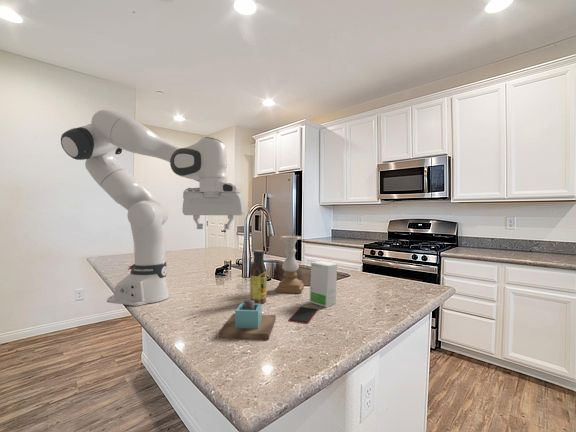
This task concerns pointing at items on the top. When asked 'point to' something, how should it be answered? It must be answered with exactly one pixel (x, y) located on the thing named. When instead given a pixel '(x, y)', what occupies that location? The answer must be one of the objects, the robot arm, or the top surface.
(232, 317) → the post stand
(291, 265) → the candle holder
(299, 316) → the smartphone
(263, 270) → the sauce bottle
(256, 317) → the teal collar
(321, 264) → the skincare box
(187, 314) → the top surface
